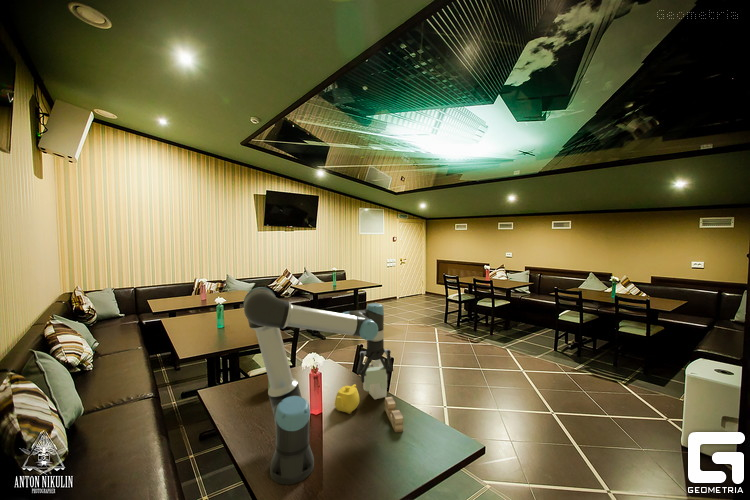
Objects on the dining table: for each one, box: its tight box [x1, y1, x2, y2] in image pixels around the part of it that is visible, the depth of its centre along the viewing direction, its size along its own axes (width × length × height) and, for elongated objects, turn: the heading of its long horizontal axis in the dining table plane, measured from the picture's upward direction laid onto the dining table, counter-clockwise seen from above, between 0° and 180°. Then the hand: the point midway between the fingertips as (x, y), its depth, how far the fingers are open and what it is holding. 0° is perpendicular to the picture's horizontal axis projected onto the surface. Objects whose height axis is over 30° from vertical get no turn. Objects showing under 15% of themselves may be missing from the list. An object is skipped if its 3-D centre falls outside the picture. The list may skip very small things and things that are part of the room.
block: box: [365, 366, 386, 392], centre depth 135 cm, size 4×9×9 cm, turn 103°
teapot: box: [334, 384, 360, 415], centre depth 146 cm, size 18×11×11 cm, turn 156°
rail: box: [384, 396, 404, 433], centre depth 138 cm, size 18×4×6 cm, turn 13°
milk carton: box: [368, 358, 388, 400], centre depth 160 cm, size 7×7×19 cm
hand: (375, 387), depth 135 cm, fingers closed on block, 9 cm apart
